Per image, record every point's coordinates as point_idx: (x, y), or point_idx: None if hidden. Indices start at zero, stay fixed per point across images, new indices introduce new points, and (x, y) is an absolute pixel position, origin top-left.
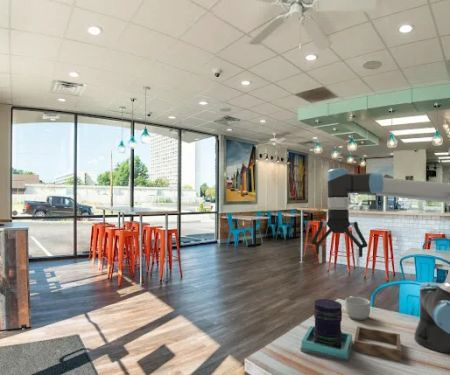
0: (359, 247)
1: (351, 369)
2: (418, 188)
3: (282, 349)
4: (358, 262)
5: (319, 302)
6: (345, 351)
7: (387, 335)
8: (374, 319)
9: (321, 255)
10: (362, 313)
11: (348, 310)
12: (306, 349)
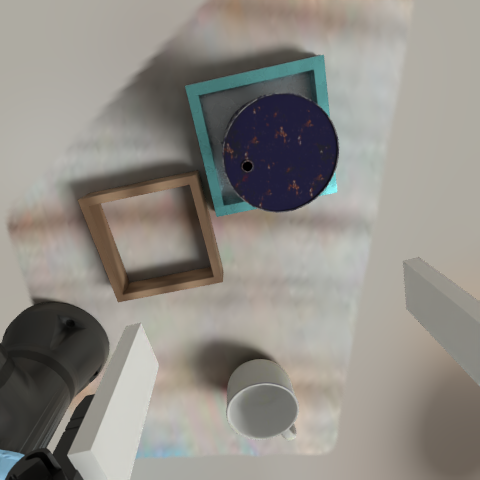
0: (53, 475)
1: (165, 51)
2: None
3: (368, 23)
4: (122, 345)
5: (316, 147)
6: (190, 85)
7: (146, 286)
8: (219, 387)
9: (440, 314)
10: (239, 372)
11: (278, 370)
12: (302, 59)
